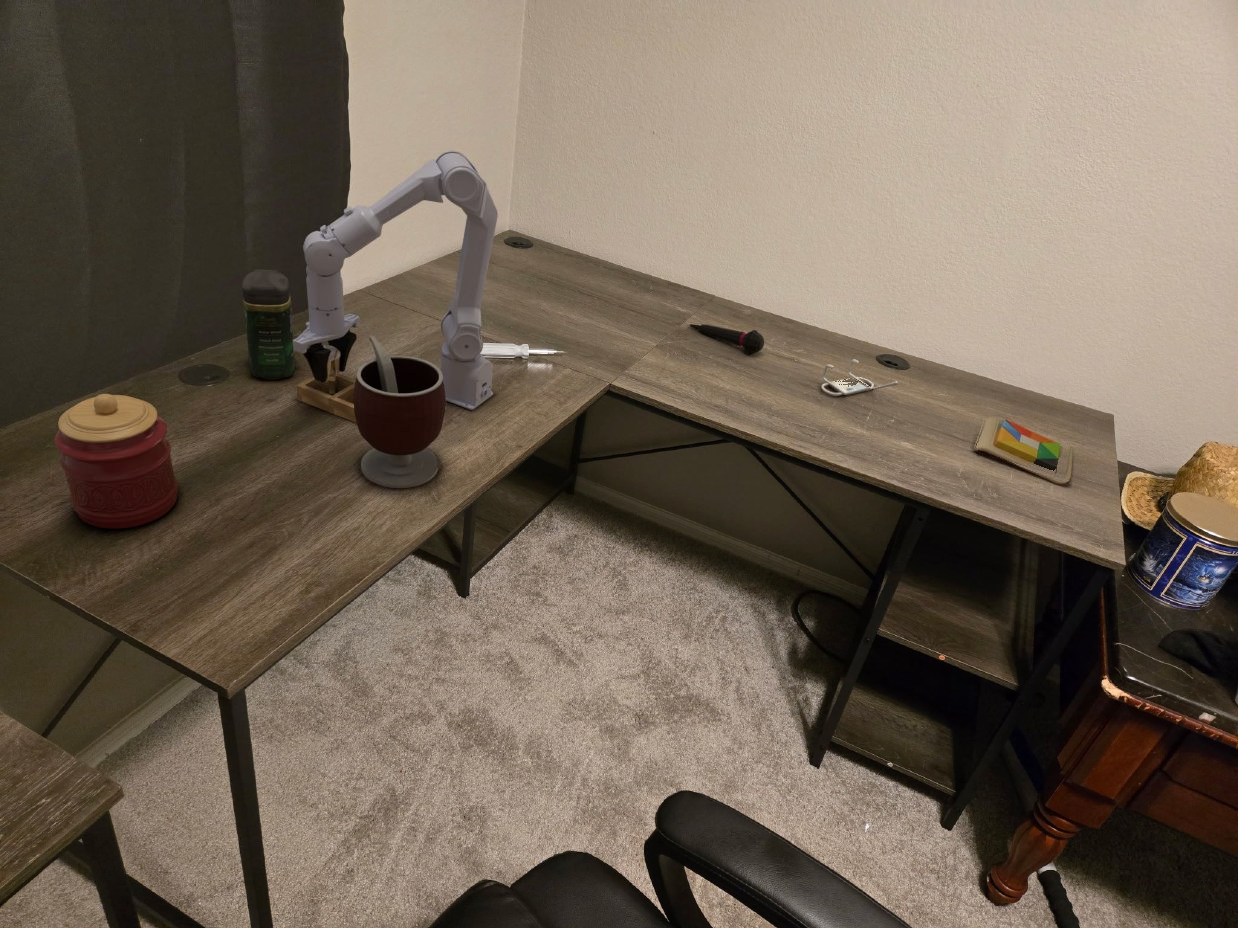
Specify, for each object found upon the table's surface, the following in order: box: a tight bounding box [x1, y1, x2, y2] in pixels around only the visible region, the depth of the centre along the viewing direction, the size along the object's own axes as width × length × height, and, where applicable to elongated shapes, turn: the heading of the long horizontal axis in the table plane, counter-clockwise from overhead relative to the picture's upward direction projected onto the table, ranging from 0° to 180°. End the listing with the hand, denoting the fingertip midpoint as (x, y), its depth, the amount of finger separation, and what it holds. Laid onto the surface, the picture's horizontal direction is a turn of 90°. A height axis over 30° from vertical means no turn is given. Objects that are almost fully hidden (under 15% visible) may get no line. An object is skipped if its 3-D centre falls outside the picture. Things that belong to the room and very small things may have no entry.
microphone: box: [689, 323, 765, 355], centre depth 193 cm, size 6×6×20 cm
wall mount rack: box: [820, 359, 899, 397], centre depth 180 cm, size 16×14×6 cm
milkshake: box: [318, 344, 340, 396], centre depth 142 cm, size 4×5×10 cm
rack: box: [296, 373, 357, 424], centre depth 143 cm, size 15×8×3 cm, turn 67°
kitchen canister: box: [54, 393, 179, 529], centre depth 109 cm, size 13×13×18 cm
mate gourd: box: [353, 335, 447, 489], centre depth 126 cm, size 16×14×20 cm
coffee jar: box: [241, 269, 296, 380], centre depth 145 cm, size 10×8×19 cm
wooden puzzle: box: [973, 416, 1075, 485], centre depth 169 cm, size 18×19×4 cm
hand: (329, 374), depth 142 cm, fingers closed on milkshake, 4 cm apart
